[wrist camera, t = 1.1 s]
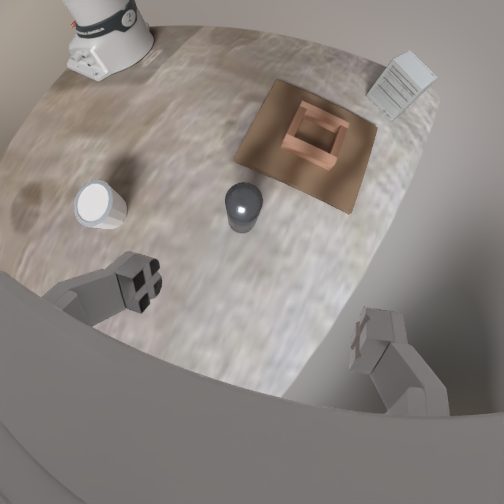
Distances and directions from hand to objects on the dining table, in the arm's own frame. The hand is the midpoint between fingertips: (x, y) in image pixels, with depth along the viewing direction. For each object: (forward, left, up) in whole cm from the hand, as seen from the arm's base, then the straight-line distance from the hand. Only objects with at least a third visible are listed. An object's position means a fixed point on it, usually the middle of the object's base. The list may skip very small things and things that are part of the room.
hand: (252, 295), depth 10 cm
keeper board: (+2, +25, -30) cm, 39 cm away
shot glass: (-23, +1, -31) cm, 38 cm away
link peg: (-3, +8, -30) cm, 31 cm away
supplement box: (+13, +43, -31) cm, 54 cm away
